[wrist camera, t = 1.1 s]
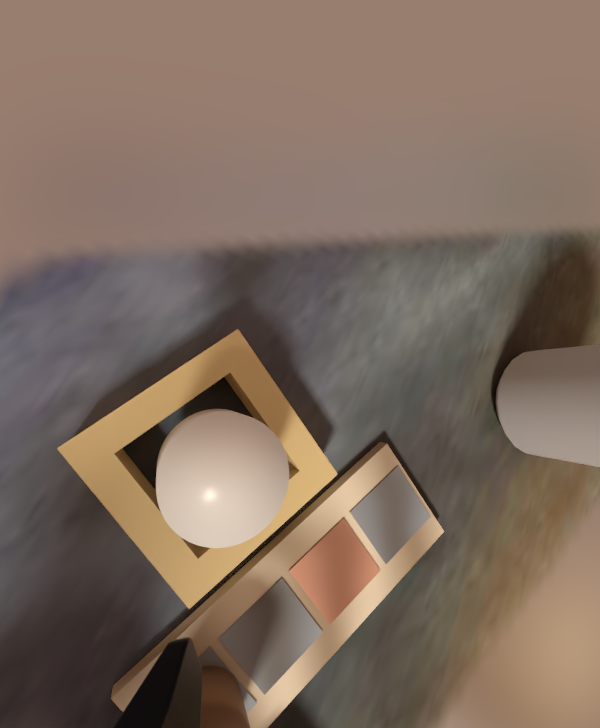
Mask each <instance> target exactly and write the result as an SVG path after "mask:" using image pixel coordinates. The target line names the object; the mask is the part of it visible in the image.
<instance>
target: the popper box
mask: <svg viewBox="0 0 600 728" xmlns="http://www.w3.org/2000/svg"><path fill="white" fill-rule="evenodd" d="M223 377H225V379H226V380H227V381H228V383H229V384H230V386H231V387H232V389H233V390H234V391H235V393H236V394H237V396H238V397H239V398H240V400H241V401H242V403H243V404H244V405H245V407H246V408H247V410H248V411H249V413H250V414H251V415H252V417H253V418H255V419H256V420H258V421H260V422H262V423H263V424H265V425H266V426H267V427H269V428H270V429H271V430H272V431H273V432H274V434H275V435H276V436H277V437H278V439H279V440H280V442H281V444H282V445H283V448H284V450H285V452H286V456H287V459H288V465H289V484H288V489H287V493H286V496H285V499H284V502H283V504H282V506H281V508H280V510H279V511H278V513H277V515H276V516H275V518H274V519H273V520H272V521H271V523H270V524H269V525H268V526H267V527H266V528H265V529H264V530H262V531H261V532H260V533H259V534H257V535H256V536H254V537H253V538H251V539H249V540H247V541H245V542H243V543H241V544H238V545H235V546H231V547H225V548H207V547H202V546H198V545H195V544H193V543H190V542H188V541H186V540H185V539H183V538H181V537H180V536H179V535H178V534H176V533H175V532H174V531H173V530H172V529H171V528H170V527H169V525H168V524H167V522H166V521H165V519H164V518H163V515H162V513H161V511H160V508H159V505H158V502H157V496H156V490H155V489H154V488H153V486H152V485H151V484H150V483H149V481H148V480H147V479H146V478H145V476H144V475H143V474H142V472H141V471H140V470H139V469H138V467H137V466H136V465H135V464H134V462H133V461H132V460H131V459H130V457H129V456H128V455H127V453H126V452H125V451H124V450H123V447H124V446H126V445H127V444H129V443H130V442H132V441H133V440H134V439H136V438H137V437H139V436H140V435H142V434H143V433H144V432H146V431H147V430H149V429H150V428H152V427H153V426H154V425H156V424H157V423H159V422H160V421H162V420H163V419H164V418H166V417H167V416H169V415H170V414H172V413H173V412H174V411H176V410H177V409H179V408H180V407H182V406H183V405H184V404H186V403H187V402H189V401H190V400H192V399H193V398H194V397H196V396H197V395H199V394H200V393H202V392H203V391H204V390H206V389H207V388H209V387H210V386H212V385H213V384H214V383H216V382H217V381H219V380H220V379H222V378H223ZM57 449H58V451H59V452H60V453H61V454H62V455H63V457H64V458H65V459H66V460H67V461H68V463H69V464H70V465H71V466H72V468H73V469H74V470H75V471H76V472H77V474H78V475H79V476H80V477H81V478H82V480H83V481H84V482H85V483H86V485H87V486H88V487H89V488H90V489H91V491H92V492H93V493H94V494H95V495H96V497H97V498H98V499H99V500H100V502H101V503H102V504H103V505H104V506H105V508H106V509H107V510H108V511H109V512H110V514H111V515H112V516H113V517H114V518H115V520H116V521H117V522H118V523H119V525H120V526H121V527H122V528H123V529H124V531H125V532H126V533H127V534H128V535H129V537H130V538H131V539H132V540H133V542H134V543H135V544H136V545H137V546H138V548H139V549H140V550H141V551H142V552H143V554H144V555H145V556H146V557H147V559H148V560H149V561H150V562H151V563H152V565H153V566H154V567H155V568H156V569H157V571H158V572H159V573H160V574H161V576H162V577H163V578H164V579H165V580H166V582H167V583H168V584H169V585H170V586H171V588H172V589H173V590H174V591H175V593H176V594H177V595H178V596H179V597H180V599H181V600H182V601H183V602H184V603H185V605H186V606H187V607H188V608H189V609H190V608H191V607H192V606H193V605H194V604H195V603H197V602H198V601H199V600H200V599H201V598H202V597H203V596H204V595H205V594H207V593H208V592H209V591H210V590H211V589H212V588H213V587H214V586H215V585H216V584H218V583H219V582H220V581H221V580H222V579H223V578H224V577H225V576H226V575H227V574H229V573H230V572H231V571H232V570H233V569H234V568H235V567H236V566H237V565H238V564H240V563H241V562H242V561H243V560H244V559H245V558H246V557H247V556H248V555H249V554H251V553H252V552H253V551H254V550H255V549H256V548H257V547H258V546H259V545H260V544H262V543H263V542H264V541H265V540H266V539H267V538H268V537H269V536H270V535H272V534H273V533H274V532H275V531H276V530H277V529H278V528H279V527H280V526H281V525H283V524H284V523H285V522H286V521H287V520H288V519H289V518H290V517H291V516H292V515H294V514H295V513H296V512H297V511H298V510H299V509H300V508H301V507H302V506H303V505H305V504H306V503H307V502H308V501H309V500H310V499H311V498H312V497H313V496H314V495H316V494H317V493H318V492H319V491H320V490H321V489H322V488H323V487H324V486H326V485H327V484H328V483H329V482H330V481H331V480H332V479H333V478H334V477H335V476H337V475H338V474H337V472H336V471H335V470H334V468H333V467H332V465H331V464H330V462H329V461H328V459H327V458H326V456H325V455H324V453H323V452H322V451H321V449H320V448H319V446H318V445H317V443H316V442H315V440H314V439H313V437H312V436H311V435H310V433H309V432H308V430H307V429H306V427H305V426H304V424H303V423H302V421H301V420H300V418H299V417H298V416H297V414H296V413H295V411H294V410H293V408H292V407H291V405H290V404H289V402H288V401H287V400H286V398H285V397H284V395H283V394H282V392H281V391H280V389H279V388H278V386H277V385H276V383H275V382H274V381H273V379H272V378H271V376H270V375H269V373H268V372H267V370H266V369H265V367H264V366H263V365H262V363H261V362H260V360H259V359H258V357H257V356H256V354H255V353H254V351H253V350H252V348H251V347H250V346H249V344H248V343H247V341H246V340H245V338H244V337H243V335H242V334H241V332H240V331H239V330H238V329H237V330H235V331H234V332H232V333H231V334H229V335H228V336H226V337H225V338H223V339H222V340H220V341H219V342H217V343H216V344H214V345H213V346H211V347H210V348H208V349H207V350H205V351H204V352H202V353H201V354H199V355H197V356H196V357H194V358H193V359H191V360H190V361H188V362H187V363H185V364H184V365H182V366H181V367H179V368H178V369H176V370H175V371H173V372H172V373H170V374H169V375H167V376H166V377H164V378H163V379H161V380H160V381H158V382H157V383H155V384H154V385H152V386H151V387H149V388H148V389H146V390H145V391H143V392H142V393H140V394H138V395H137V396H135V397H134V398H132V399H131V400H129V401H128V402H126V403H125V404H123V405H122V406H120V407H119V408H117V409H116V410H114V411H113V412H111V413H110V414H108V415H107V416H105V417H104V418H102V419H101V420H99V421H98V422H96V423H95V424H93V425H92V426H90V427H89V428H87V429H86V430H84V431H82V432H81V433H79V434H78V435H76V436H75V437H73V438H72V439H70V440H69V441H67V442H66V443H64V444H63V445H61V446H60V447H58V448H57Z"/></svg>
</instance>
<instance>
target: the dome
mask: <svg viewBox="0 0 600 728" xmlns="http://www.w3.org/2000/svg"><path fill="white" fill-rule="evenodd" d="M288 484H289V465H288V459H287V456H286V452H285V450H284V448H283V445H282V444H281V442H280V440H279V439H278V437H277V436H276V435H275V434H274V432H273V431H272V430H271V429H270V428H269V427H267V426H266V425H265V424H263V423H262V422H260V421H258V420H256V419H255V418H252V417H249V416H246V415H243V414H240V413H237V412H234V411H231V410H226V409H209V410H203V411H200V412H197V413H195V414H193V415H190V416H188V417H187V418H185V419H184V420H182V421H181V422H180V423H179V424H177V425H176V426H175V427H174V428H173V429H172V430H171V432H170V433H169V434H168V436H167V437H166V439H165V440H164V442H163V444H162V446H161V449H160V451H159V455H158V459H157V468H156V496H157V502H158V505H159V508H160V511H161V513H162V515H163V518H164V519H165V521H166V522H167V524H168V525H169V527H170V528H171V529H172V530H173V531H174V532H175V533H176V534H178V535H179V536H180V537H181V538H183V539H185V540H186V541H188V542H190V543H193V544H195V545H198V546H202V547H207V548H225V547H231V546H235V545H238V544H241V543H243V542H245V541H247V540H249V539H251V538H253V537H254V536H256V535H257V534H259V533H260V532H261V531H262V530H264V529H265V528H266V527H267V526H268V525H269V524H270V523H271V521H272V520H273V519H274V518H275V516H276V515H277V513H278V511H279V510H280V508H281V506H282V504H283V502H284V499H285V496H286V493H287V489H288Z"/></svg>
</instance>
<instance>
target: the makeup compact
mask: <svg viewBox="0 0 600 728" xmlns="http://www.w3.org/2000/svg"><path fill="white" fill-rule="evenodd" d="M443 532H444V530H443V529H442V527H441V526H440V524H439V523H438V521H437V520H436V518H435V517H434V515H433V514H432V512H431V510H430V509H429V507H428V506H427V504H426V503H425V501H424V500H423V498H422V497H421V495H420V493H419V492H418V490H417V489H416V487H415V486H414V484H413V483H412V481H411V480H410V478H409V477H408V475H407V473H406V472H405V470H404V469H403V467H402V466H401V464H400V463H399V461H398V460H397V458H396V456H395V455H394V453H393V452H392V450H391V449H390V447H389V446H388V444H387V443H383V442H379V443H378V444H377V445H376V446H375V447H373V448H372V449H371V450H370V451H369V452H368V453H367V454H366V455H365V456H364V457H362V458H361V459H360V460H359V461H358V462H357V463H356V464H355V465H354V466H353V467H352V468H350V469H349V470H348V471H347V472H346V473H345V474H344V475H343V476H342V477H341V478H340V479H338V480H337V481H336V482H335V483H334V484H333V485H332V486H331V487H330V488H329V489H327V490H326V491H325V492H324V493H323V494H322V495H321V496H320V497H319V498H318V499H317V500H315V501H314V502H313V503H312V504H311V505H310V506H309V507H308V508H307V509H306V510H305V511H303V512H302V513H301V514H300V515H299V516H298V517H297V518H296V519H295V520H294V521H292V522H291V523H290V524H289V525H288V526H287V527H286V528H285V529H284V530H283V531H282V532H280V533H279V534H278V535H277V536H276V537H275V538H274V539H273V540H272V541H271V542H270V543H268V544H267V545H266V546H265V547H264V548H263V549H262V550H261V551H260V552H259V553H257V554H256V555H255V556H254V557H253V558H252V559H251V560H250V561H249V562H248V563H247V564H245V565H244V566H243V567H242V568H241V569H240V570H239V571H238V572H237V573H236V574H235V575H233V576H232V577H231V578H230V579H229V580H228V581H227V582H226V583H225V584H224V585H222V586H221V587H220V588H219V589H218V590H217V591H216V592H215V593H214V594H213V595H212V596H210V597H209V598H208V599H207V600H206V601H205V602H204V603H203V604H202V605H201V606H200V607H198V608H197V609H196V610H195V611H194V612H193V613H192V614H191V615H190V616H189V617H187V618H186V619H185V620H184V621H183V622H182V623H181V624H180V625H179V626H178V627H177V628H175V629H174V630H173V631H172V632H171V633H170V634H169V635H168V636H167V637H166V638H165V639H163V640H162V641H161V642H160V643H159V644H158V645H157V646H156V647H155V648H154V649H152V650H151V651H150V652H149V653H148V654H147V655H146V656H145V657H144V658H143V659H142V660H140V661H139V662H138V663H137V664H136V665H135V666H134V667H133V668H132V669H131V670H130V671H128V672H127V673H126V674H125V675H124V676H123V677H122V678H121V679H120V680H119V681H117V682H116V683H115V684H114V685H113V688H112V695H111V700H112V701H113V702H114V703H115V704H116V705H117V706H118V707H119V708H120V710H121V711H122V712H124V710H125V709H126V707H127V705H128V704H129V702H130V701H131V699H132V698H133V696H134V695H135V693H136V692H137V690H138V688H139V687H140V685H141V684H142V682H143V681H144V679H145V678H146V676H147V675H148V673H149V671H150V670H151V668H152V667H153V665H154V664H155V662H156V661H157V659H158V658H159V656H160V654H161V653H162V651H163V650H164V648H165V647H166V645H167V644H168V643H169V642H170V641H172V640H175V639H179V638H183V637H190V638H191V639H192V641H193V644H194V646H195V649H196V652H197V655H198V658H199V660H200V663H201V667H203V666H218V667H221V668H224V669H226V670H228V671H229V672H230V673H231V674H232V675H233V676H234V677H235V678H236V680H237V682H238V684H239V687H240V690H241V694H242V698H243V701H244V705H245V709H246V713H247V717H248V720H249V724H250V728H268V727H269V726H270V724H271V723H272V722H273V721H274V720H275V719H276V718H277V717H278V716H279V714H280V713H281V712H282V711H283V710H284V709H285V708H286V707H287V706H288V704H289V703H290V702H291V701H292V700H293V699H294V698H295V697H296V696H297V694H298V693H299V692H300V691H301V690H302V689H303V688H304V687H305V686H306V684H307V683H308V682H309V681H310V680H311V679H312V678H313V677H314V676H315V674H316V673H317V672H318V671H319V670H320V669H321V668H322V667H323V666H324V664H325V663H326V662H327V661H328V660H329V659H330V658H331V657H332V656H333V654H334V653H335V652H336V651H337V650H338V649H339V648H340V647H341V646H342V644H343V643H344V642H345V641H346V640H347V639H348V638H349V637H350V636H351V634H352V633H353V632H354V631H355V630H356V629H357V628H358V627H359V626H360V624H361V623H362V622H363V621H364V620H365V619H366V618H367V617H368V616H369V614H370V613H371V612H372V611H373V610H374V609H375V608H376V607H377V605H378V604H379V603H380V602H381V601H382V600H383V599H384V598H385V597H386V595H387V594H388V593H389V592H390V591H391V590H392V589H393V588H394V587H395V585H396V584H397V583H398V582H399V581H400V580H401V579H402V578H403V577H404V575H405V574H406V573H407V572H408V571H409V570H410V569H411V568H412V567H413V565H414V564H415V563H416V562H417V561H418V560H419V559H420V558H421V557H422V555H423V554H424V553H425V552H426V551H427V550H428V549H429V548H430V547H431V545H432V544H433V543H434V542H435V541H436V540H437V539H438V538H439V537H440V535H441V534H442V533H443Z"/></svg>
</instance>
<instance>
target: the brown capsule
mask: <svg viewBox="0 0 600 728" xmlns="http://www.w3.org/2000/svg"><path fill="white" fill-rule="evenodd" d="M200 728H250V724H249V720H248V717H247V713H246V709H245V705H244V701H243V698H242V694H241V690H240V687H239V684H238V682H237V680H236V678H235V677H234V676H233V675H232V674H231V673H230V672H229V671H228V670H226V669H224V668H221V667H218V666H203V667H202V701H201V724H200Z"/></svg>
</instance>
